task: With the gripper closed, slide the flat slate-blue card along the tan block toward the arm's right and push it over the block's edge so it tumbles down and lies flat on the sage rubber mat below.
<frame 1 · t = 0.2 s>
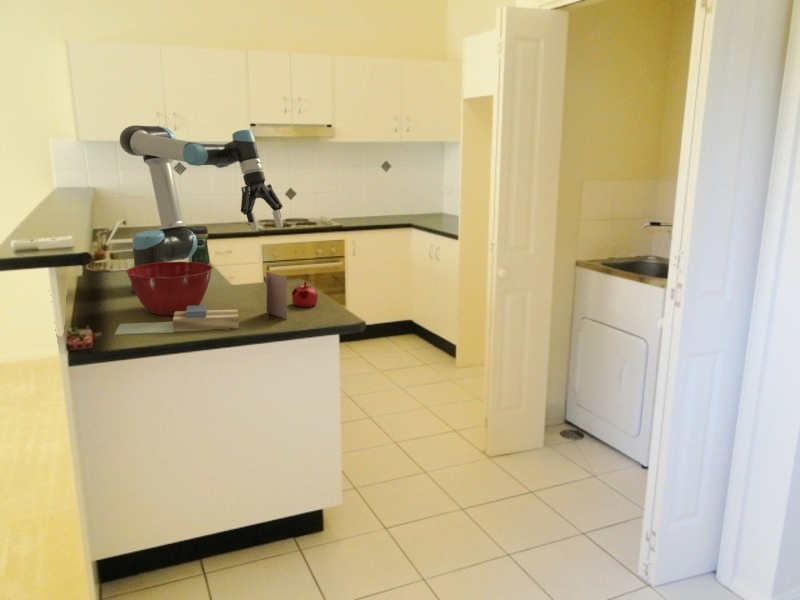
hand: (267, 229, 233), 28 cm above the worktop, tool tilted 20°, fingers open, 13 cm apart
slate card: (196, 314, 205), point 4 cm above the worktop, touching tan block
greeting card: (275, 317, 220), on the worktop
tan block: (206, 325, 206), on the worktop
rubber mat: (146, 328, 201), on the worktop
mixing bowl: (172, 311, 223), on the worktop
coffee jar: (199, 264, 307), on the worktop
pomegranate: (304, 305, 237), on the worktop
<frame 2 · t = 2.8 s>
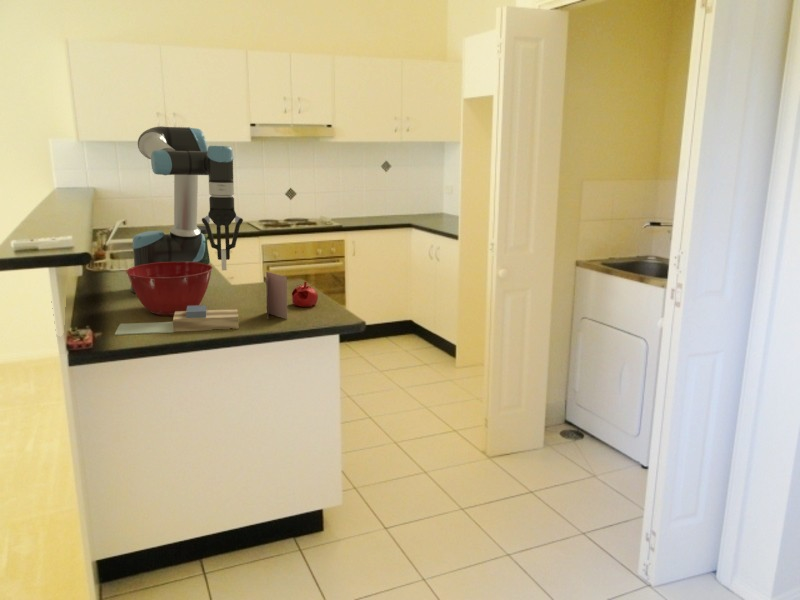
hand: (224, 269, 203), 19 cm above the worktop, tool pointing down, fingers closed
nothing on the worktop moved.
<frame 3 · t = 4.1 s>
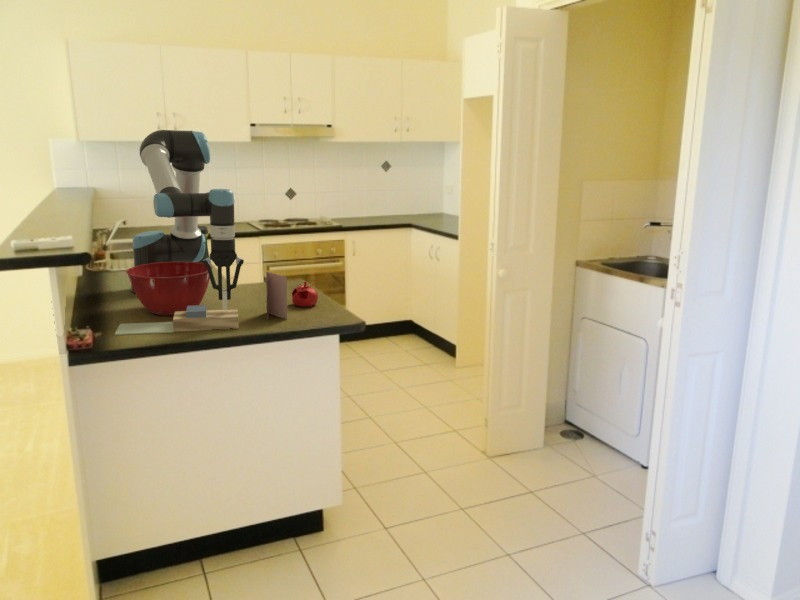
hand: (225, 309, 207), 5 cm above the worktop, tool pointing down, fingers closed
nothing on the worktop moved.
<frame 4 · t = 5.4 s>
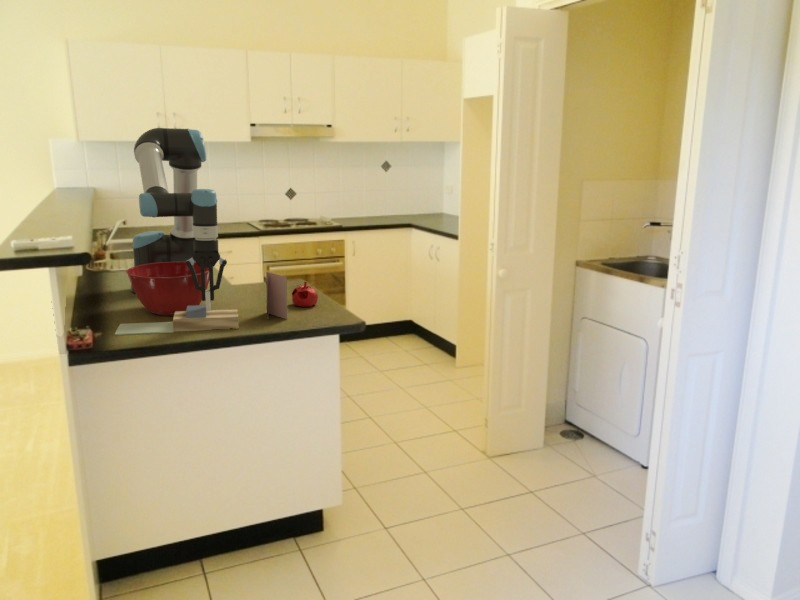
hand: (208, 310, 205), 5 cm above the worktop, tool pointing down, fingers closed
slate card: (196, 314, 205), point 4 cm above the worktop, touching gripper
everything else where it was.
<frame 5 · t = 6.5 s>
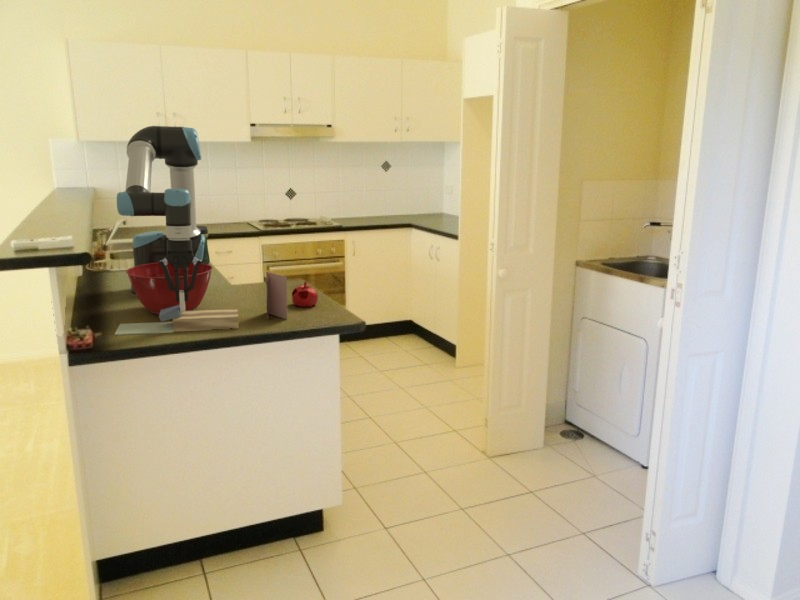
hand: (182, 310, 203), 5 cm above the worktop, tool pointing down, fingers closed
slate card: (171, 315, 202), point 4 cm above the worktop, tilted 14°
everything else where it was.
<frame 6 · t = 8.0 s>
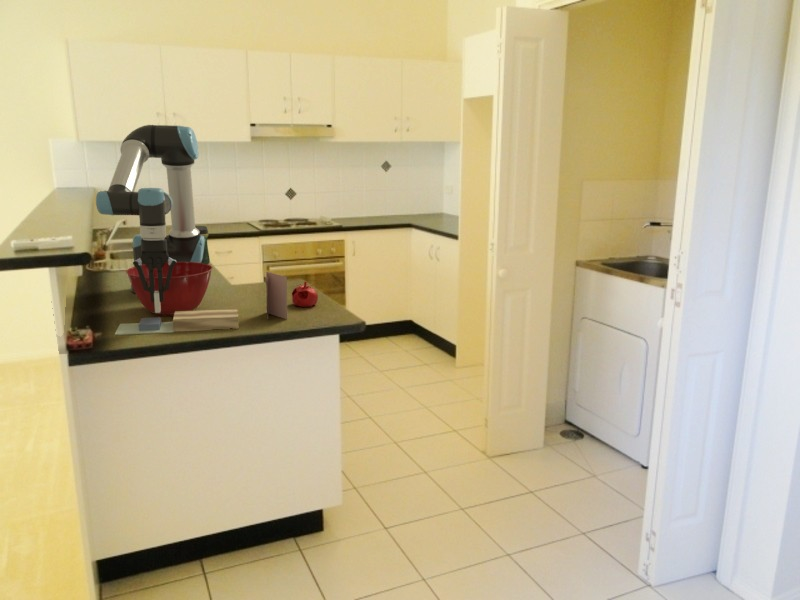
hand: (157, 311, 201), 5 cm above the worktop, tool pointing down, fingers closed
slate card: (150, 321, 201), point 2 cm above the worktop, tilted 180°, touching rubber mat
everything else where it was.
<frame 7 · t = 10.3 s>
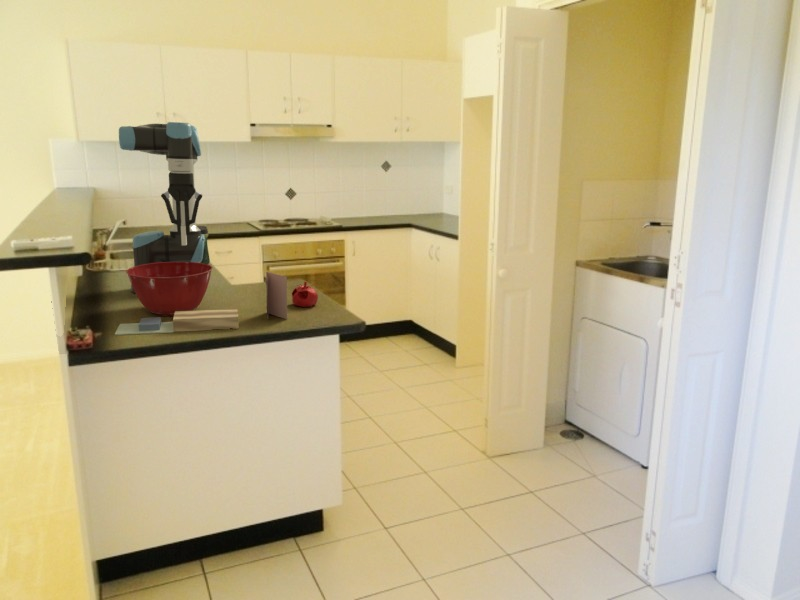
hand: (184, 244, 208), 25 cm above the worktop, tool pointing down, fingers closed
nothing on the worktop moved.
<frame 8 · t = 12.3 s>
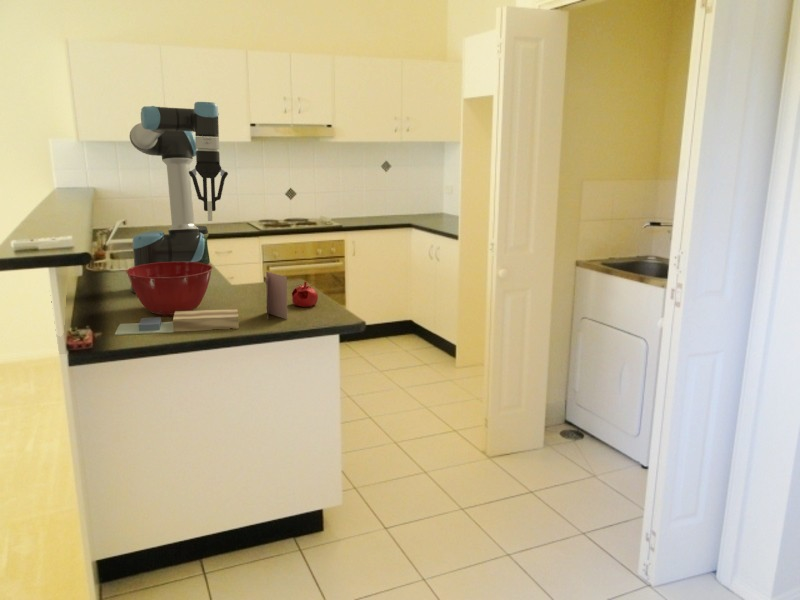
hand: (210, 220, 216), 32 cm above the worktop, tool pointing down, fingers closed
nothing on the worktop moved.
at the end: slate card inside the target area (1.3 cm from its centre), point 2.4 cm above the worktop; slate card touching rubber mat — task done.
